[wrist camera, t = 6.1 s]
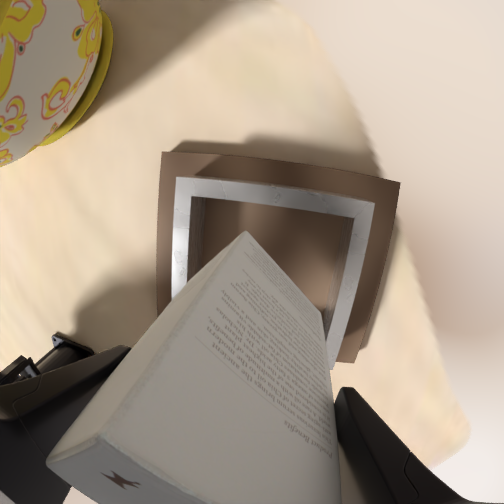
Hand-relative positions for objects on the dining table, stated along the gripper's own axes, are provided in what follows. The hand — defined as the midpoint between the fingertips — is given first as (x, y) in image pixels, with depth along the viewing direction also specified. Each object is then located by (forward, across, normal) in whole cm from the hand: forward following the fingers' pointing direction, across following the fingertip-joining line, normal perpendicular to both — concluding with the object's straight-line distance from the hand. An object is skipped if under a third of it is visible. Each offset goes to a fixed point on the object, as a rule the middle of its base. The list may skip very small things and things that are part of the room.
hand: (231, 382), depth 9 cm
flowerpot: (+13, +21, -15) cm, 29 cm away
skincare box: (+7, 0, 0) cm, 7 cm away
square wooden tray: (+12, 0, 0) cm, 13 cm away
